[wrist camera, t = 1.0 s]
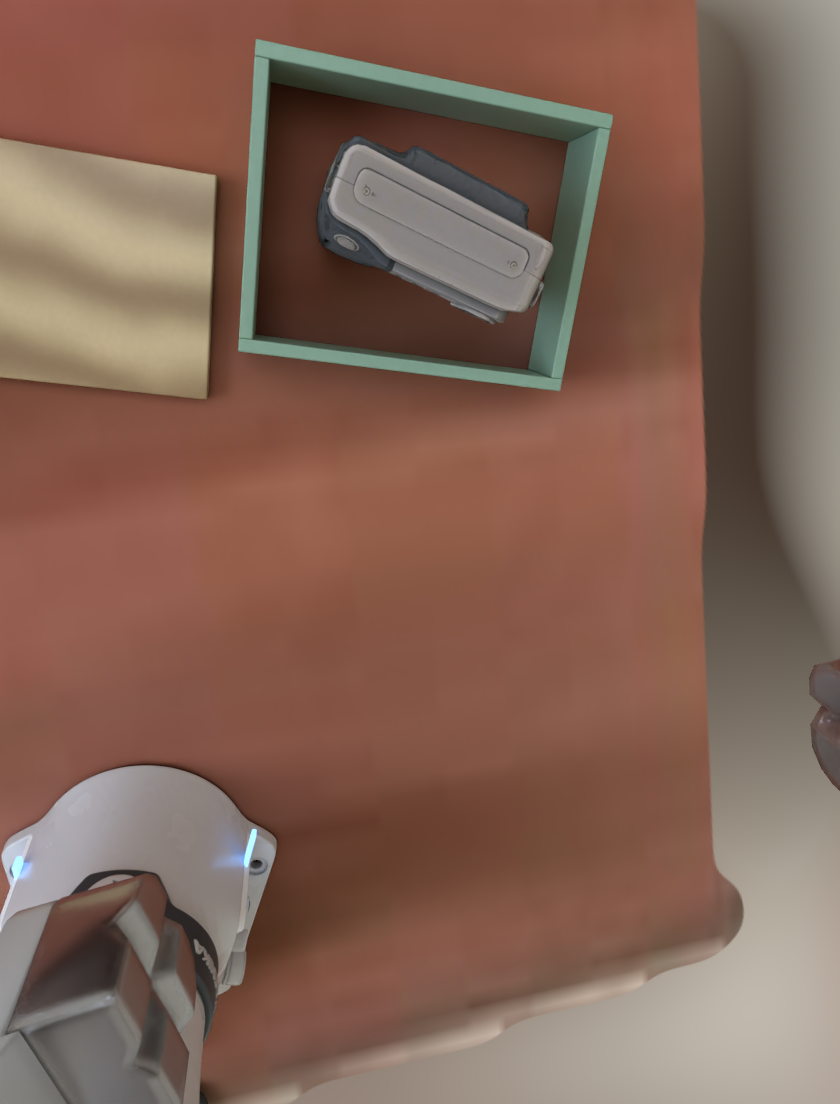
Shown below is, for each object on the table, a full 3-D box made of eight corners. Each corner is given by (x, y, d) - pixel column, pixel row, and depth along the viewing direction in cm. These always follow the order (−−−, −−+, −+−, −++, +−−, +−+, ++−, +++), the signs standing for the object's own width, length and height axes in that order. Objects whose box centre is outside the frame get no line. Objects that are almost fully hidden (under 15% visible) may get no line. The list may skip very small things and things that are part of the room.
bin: (535, 382, 47) (560, 391, 43) (242, 344, 43) (238, 351, 39) (581, 131, 43) (614, 114, 38) (258, 64, 39) (255, 38, 35)
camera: (300, 240, 42) (305, 227, 33) (340, 139, 41) (358, 95, 31) (473, 328, 45) (523, 339, 36) (515, 237, 44) (578, 224, 35)
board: (208, 397, 44) (206, 400, 43) (-174, 355, 40) (-185, 357, 39) (217, 177, 40) (216, 174, 39) (-204, 105, 36) (-217, 100, 35)
